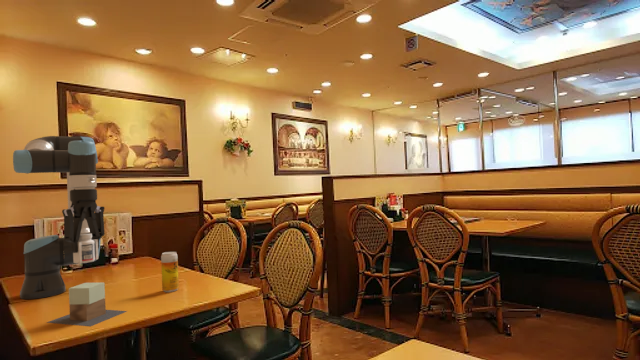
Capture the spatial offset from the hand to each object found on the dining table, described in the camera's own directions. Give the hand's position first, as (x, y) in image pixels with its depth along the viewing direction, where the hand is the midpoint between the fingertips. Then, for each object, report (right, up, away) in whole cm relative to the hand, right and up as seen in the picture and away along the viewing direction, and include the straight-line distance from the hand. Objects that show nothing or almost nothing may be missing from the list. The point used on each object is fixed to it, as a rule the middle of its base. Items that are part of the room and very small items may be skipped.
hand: (86, 260), depth 125 cm
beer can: (+16, -18, +29) cm, 38 cm away
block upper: (+1, -13, 0) cm, 13 cm away
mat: (+1, -18, 0) cm, 18 cm away
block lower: (+1, -18, 0) cm, 18 cm away
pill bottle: (0, 0, 0) cm, 1 cm away
